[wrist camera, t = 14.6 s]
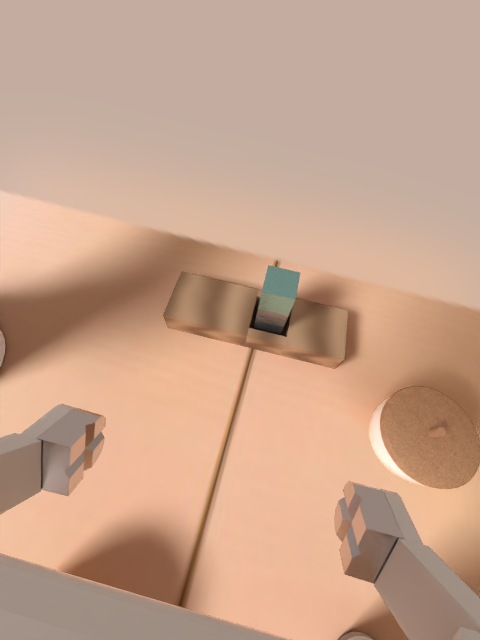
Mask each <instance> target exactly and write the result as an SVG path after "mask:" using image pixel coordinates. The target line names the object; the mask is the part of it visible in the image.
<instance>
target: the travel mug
mask: <svg viewBox="0 0 480 640" xmlns="http://www.w3.org/2000/svg"><path fill="white" fill-rule="evenodd" d="M339 640H374V639H373V638H371V637H370V636H369V635H367V634H365V633H362V632H357V631H356V632H349V633H347V634H345V635H343V636H342V637H341V638H340V639H339Z"/></svg>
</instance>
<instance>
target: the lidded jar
mask: <svg viewBox="0 0 480 640" xmlns="http://www.w3.org/2000/svg"><path fill="white" fill-rule="evenodd" d="M369 437H370V442H371V445H372V448H373V450H374V452H375V454H376V455H377V457H378V459H379V460H380V461H381V462H382V464H383V465H384V466H385V467H386V468H388V469H389V470H390V471H391V472H392V473H394V474H395V475H397V476H398V477H400V478H402V479H404V480H406V481H409V482H411V483H414V484H418V485H423V486H429V487H433V488H438V489H452V488H457V487H460V486H462V485H464V484H466V483H467V482H469V481H470V480H471V479H472V477H473V476H474V475H475V473H476V471H477V469H478V466H479V463H480V443H479V438H478V435H477V432H476V430H475V428H474V426H473V423H472V422H471V420H470V419H469V417H468V416H467V414H466V413H465V412H464V411H463V409H462V408H461V407H460V406H459V405H458V404H457V403H455V402H454V401H453V400H452V399H451V398H449V397H447V396H446V395H444V394H443V393H441V392H439V391H437V390H434V389H431V388H427V387H421V386H414V387H408V388H404V389H402V390H400V391H398V392H396V393H394V394H393V395H392V396H390V397H388V398H386V399H385V400H384V401H383V402H382V403H380V404H379V406H378V407H377V408H376V409H375V411H374V412H373V414H372V417H371V420H370V424H369Z"/></svg>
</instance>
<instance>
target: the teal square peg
mask: <svg viewBox="0 0 480 640" xmlns="http://www.w3.org/2000/svg"><path fill="white" fill-rule="evenodd" d="M299 277H300V273H299V272H295V271H290V270H286V269H282V268H277V267H273V266H269V265H268V269H267V273H266V277H265V281H264V285H263V290H262V294H261V298H260V303H259V307H258V311H257V316H256V320H255V325H254V329H256V330H260V331H264V332H268V333H272V334H276V335H280V334H281V332H282V330H283V327H284V325H285V323H286V321H287V318H288V316H289V314H290V311H291V309H292V307H293V304H294V302H295V300H296V294H297V288H298V283H299Z"/></svg>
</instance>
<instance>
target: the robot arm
mask: <svg viewBox="0 0 480 640" xmlns="http://www.w3.org/2000/svg"><path fill="white" fill-rule="evenodd" d="M4 355H5V339H4V336H3V333H2V332H1V330H0V366H1V364H2V362H3V358H4ZM105 424H106V418H105V417H104V416H103V415H99V414H96V413H92V412H89V411H86V410H82V409H79V408H74V407H71V406H67V405H64V404H61V405H57V406H56V407H55V408H53V409H52V410H51V411H49V412H48V413H47V414H46V415H44V416H43V417H42V418H40V419H39V420H38V421H37V422H35V423H34V424H33V425H31V426H30V427H29V428H28V429H26V430H25V431H24V432H22V433H21V434H16V433H14V434H11V435H8V436H5V437H2V438H0V514H2V513H4V512H5V511H7V510H9V509H11V508H12V507H14V506H16V505H18V504H19V503H21V502H23V501H25V500H26V499H28V498H30V497H32V496H33V495H35V494H37V493H39V492H40V491H41V490H45V491H49V492H53V493H57V494H61V495H66V496H69V495H70V494H71V493H72V491H73V490H74V489H75V488H76V486H77V485H78V484H79V483H80V481H81V480H82V479H83V471H84V470H87V469H89V468H91V467H92V466H93V465H94V463H95V462H96V461H97V459H98V457H99V455H100V453H101V451H102V448H103V445H104V436H103V434H102V432H101V431H102V430H103V429H104V427H105ZM343 492H344V496H345V497H344V498H342V499H341V500H339V501H338V504H337V506H336V510H335V518H334V520H335V530H336V535H337V536H338V537H339V539H340V540H341V541H342V545H341V547H340V555H341V560H342V565H343V569H344V574H345V575H348V576H352V577H355V578H358V579H361V580H364V581H367V582H371V583H374V586H375V588H376V589H377V591H378V592H379V594H380V596H381V597H382V599H383V600H384V602H385V603H386V605H387V607H388V608H389V610H390V611H391V613H392V615H393V616H394V618H395V619H396V621H397V622H398V624H399V626H400V627H401V629H402V630H403V632H404V633H405V635H406V637H407V638H408V640H480V598H479V597H478V596H477V594H476V593H475V592H474V591H473V590H472V589H471V588H470V587H469V586H468V585H467V584H466V583H465V582H464V581H463V580H462V579H461V578H460V577H459V576H458V575H457V574H456V573H455V572H454V571H453V570H452V569H451V568H450V567H449V566H448V565H447V564H446V563H445V562H444V561H443V560H442V559H441V558H440V557H439V556H438V555H437V554H436V553H435V552H434V551H433V550H432V549H431V548H430V547H429V546H425V545H423V543H422V541H421V539H420V537H419V535H418V533H417V530H416V528H415V526H414V524H413V522H412V520H411V518H410V516H409V514H408V512H407V510H406V508H405V505H404V503H403V501H402V499H401V497H400V496H399V495H398V494H397V493H395V492H391V491H387V490H383V489H378V488H374V487H370V486H366V485H362V484H358V483H354V482H350V481H348V482H347V483H346V485H345V487H344V489H343ZM0 640H291V639H287V638H284V637H281V636H277V635H274V634H270V633H267V632H264V631H260V630H257V629H253V628H250V627H247V626H243V625H240V624H237V623H233V622H230V621H226V620H223V619H220V618H216V617H213V616H209V615H206V614H203V613H199V612H196V611H193V610H189V609H186V608H183V607H179V606H176V605H172V604H169V603H166V602H162V601H159V600H156V599H152V598H149V597H146V596H142V595H139V594H136V593H132V592H129V591H125V590H122V589H119V588H115V587H112V586H109V585H105V584H102V583H99V582H95V581H92V580H88V579H85V578H82V577H78V576H75V575H72V574H68V573H65V572H62V571H58V570H55V569H51V568H48V567H45V566H41V565H38V564H35V563H31V562H28V561H25V560H21V559H18V558H14V557H11V556H8V555H4V554H1V553H0Z"/></svg>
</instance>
